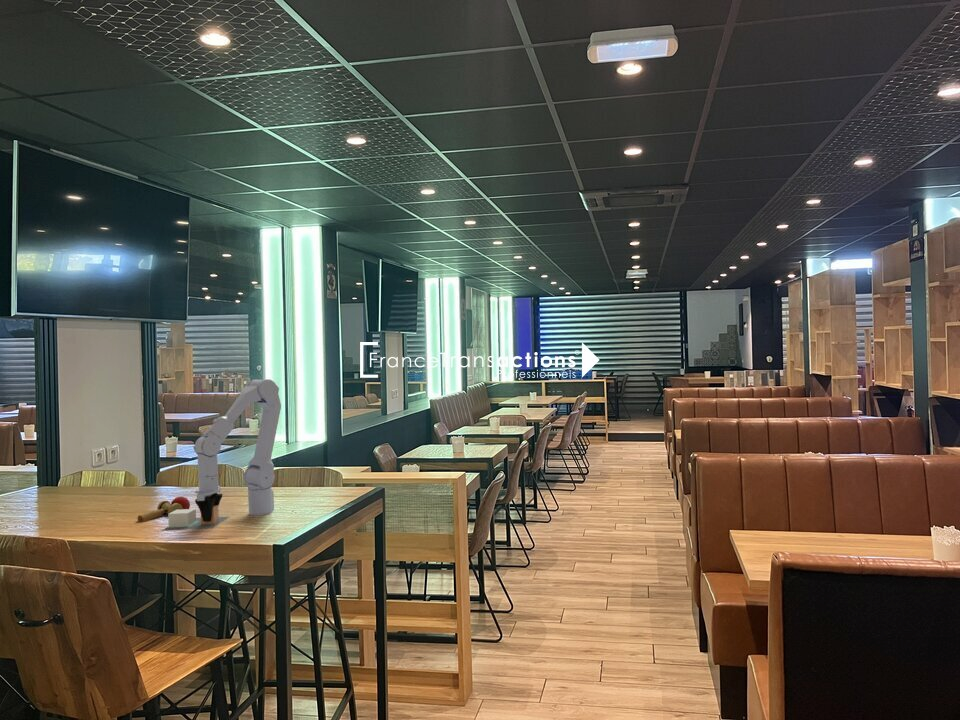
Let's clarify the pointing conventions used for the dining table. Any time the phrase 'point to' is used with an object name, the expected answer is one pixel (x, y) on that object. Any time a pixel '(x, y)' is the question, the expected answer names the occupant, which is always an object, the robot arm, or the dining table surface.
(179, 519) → the base block
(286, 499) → the dining table surface
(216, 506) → the terracotta block
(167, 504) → the kendama
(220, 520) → the grey flat plate
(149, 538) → the dining table surface
